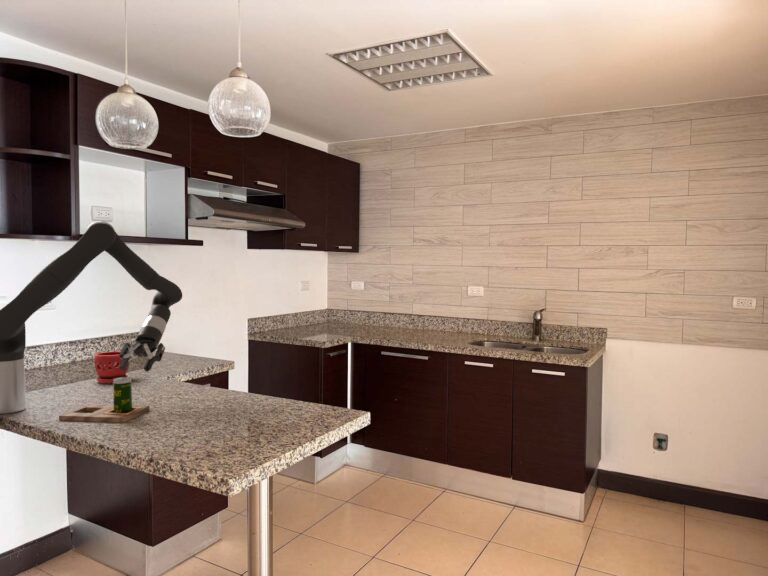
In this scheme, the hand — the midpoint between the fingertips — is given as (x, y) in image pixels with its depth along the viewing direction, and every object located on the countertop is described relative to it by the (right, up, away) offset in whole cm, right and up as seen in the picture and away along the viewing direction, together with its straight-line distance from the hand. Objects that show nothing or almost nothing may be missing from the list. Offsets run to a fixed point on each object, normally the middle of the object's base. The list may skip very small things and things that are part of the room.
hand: (134, 370), depth 184 cm
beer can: (-1, -14, -6) cm, 15 cm away
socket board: (-7, -14, -5) cm, 16 cm away
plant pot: (-30, -12, +46) cm, 56 cm away
